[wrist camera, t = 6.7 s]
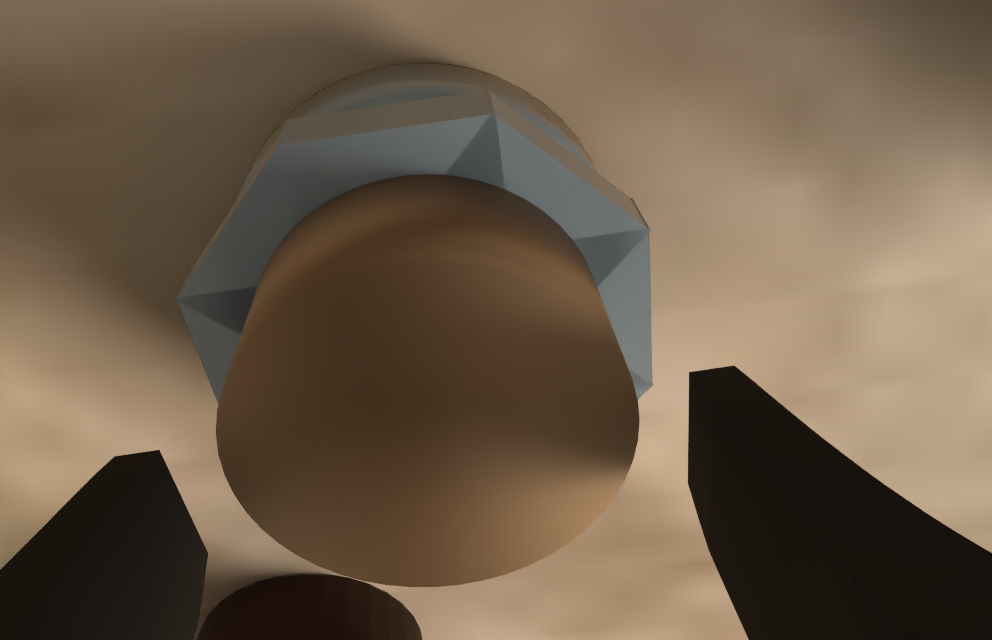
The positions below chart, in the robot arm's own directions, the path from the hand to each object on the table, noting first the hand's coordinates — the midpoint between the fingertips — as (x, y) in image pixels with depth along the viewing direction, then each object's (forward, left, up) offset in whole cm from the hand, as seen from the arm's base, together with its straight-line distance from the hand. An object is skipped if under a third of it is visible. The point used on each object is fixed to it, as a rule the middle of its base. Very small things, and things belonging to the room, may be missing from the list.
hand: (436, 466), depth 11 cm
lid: (0, 0, -3) cm, 3 cm away
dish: (0, 0, -7) cm, 7 cm away
